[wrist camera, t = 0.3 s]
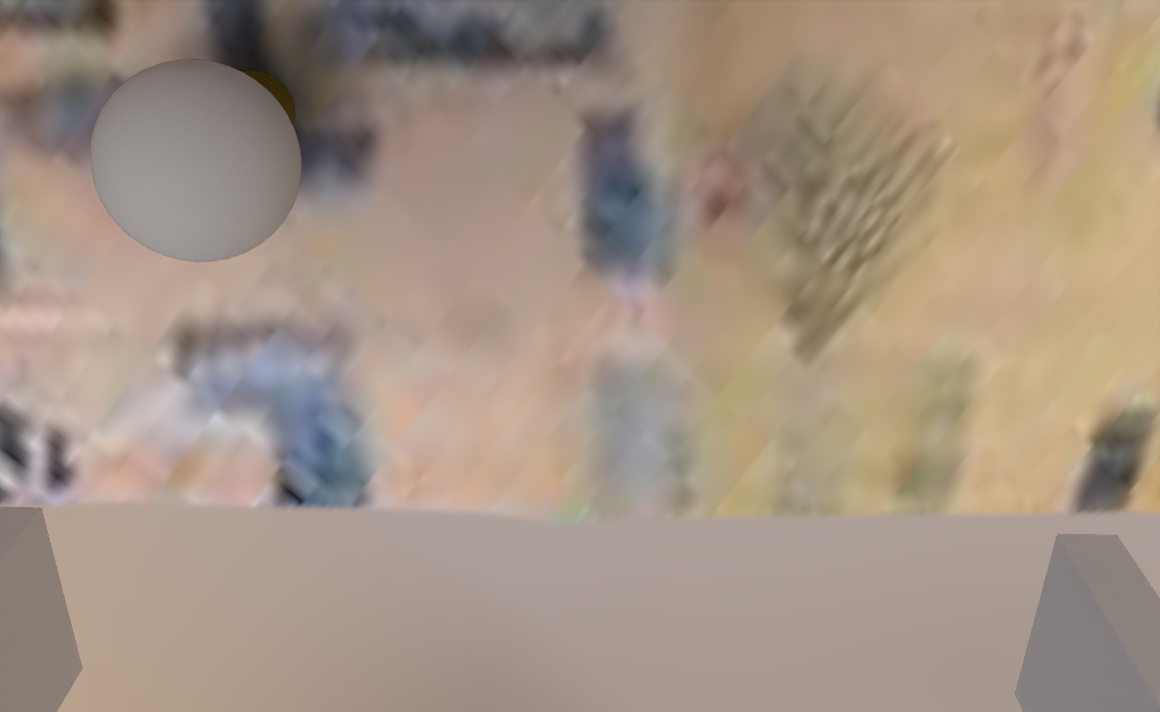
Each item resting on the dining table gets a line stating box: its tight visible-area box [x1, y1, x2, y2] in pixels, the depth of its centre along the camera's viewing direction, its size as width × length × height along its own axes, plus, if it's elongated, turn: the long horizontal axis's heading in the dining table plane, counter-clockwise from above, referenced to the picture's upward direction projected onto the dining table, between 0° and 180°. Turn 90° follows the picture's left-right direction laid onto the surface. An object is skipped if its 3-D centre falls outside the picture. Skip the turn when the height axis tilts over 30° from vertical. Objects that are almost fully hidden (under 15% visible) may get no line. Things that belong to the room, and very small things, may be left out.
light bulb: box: [90, 59, 301, 262], centre depth 35 cm, size 6×6×10 cm
